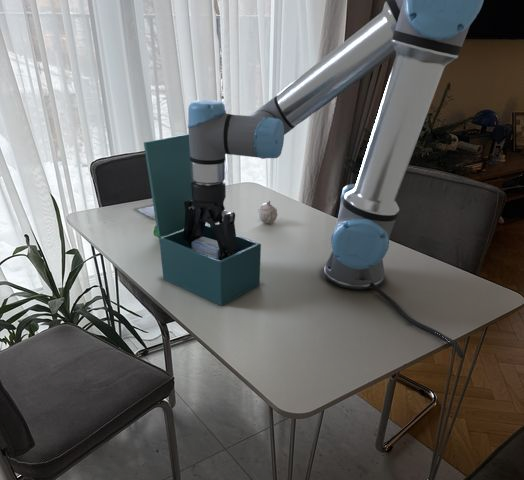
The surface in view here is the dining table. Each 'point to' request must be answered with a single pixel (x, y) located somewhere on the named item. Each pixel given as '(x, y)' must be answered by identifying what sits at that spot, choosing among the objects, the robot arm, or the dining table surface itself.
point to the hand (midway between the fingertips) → (210, 274)
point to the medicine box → (207, 247)
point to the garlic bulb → (267, 213)
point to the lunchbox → (210, 267)
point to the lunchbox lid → (169, 180)
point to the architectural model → (148, 211)
